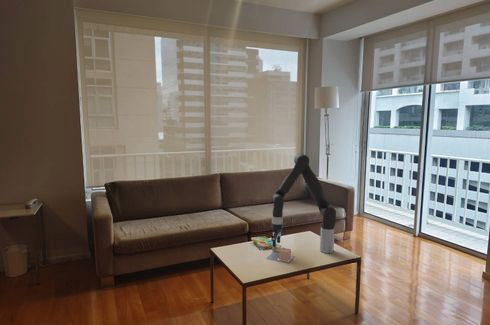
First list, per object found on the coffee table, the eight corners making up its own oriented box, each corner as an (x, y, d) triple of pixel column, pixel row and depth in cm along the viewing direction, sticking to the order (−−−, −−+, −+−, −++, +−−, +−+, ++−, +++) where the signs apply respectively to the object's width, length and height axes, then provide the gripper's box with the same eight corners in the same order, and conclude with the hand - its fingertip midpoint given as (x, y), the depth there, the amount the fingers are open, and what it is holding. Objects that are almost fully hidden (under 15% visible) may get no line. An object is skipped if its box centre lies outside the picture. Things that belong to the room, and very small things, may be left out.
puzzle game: (262, 245, 231) (251, 236, 249) (262, 252, 232) (251, 242, 250) (277, 243, 235) (265, 234, 254) (276, 249, 236) (264, 240, 254)
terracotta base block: (290, 257, 218) (290, 249, 217) (287, 261, 213) (287, 252, 212) (282, 256, 221) (282, 247, 220) (279, 259, 215) (279, 250, 214)
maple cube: (281, 251, 232) (281, 245, 231) (278, 254, 228) (278, 247, 227) (274, 250, 234) (274, 243, 234) (272, 252, 230) (272, 246, 229)
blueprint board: (295, 258, 220) (295, 256, 220) (288, 265, 209) (288, 263, 209) (273, 254, 227) (273, 251, 227) (265, 261, 216) (265, 258, 216)
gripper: (278, 226, 220) (277, 249, 222) (285, 220, 233) (284, 242, 235) (268, 224, 224) (267, 246, 225) (275, 219, 236) (275, 240, 238)
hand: (276, 244), depth 230 cm, fingers open, 8 cm apart
